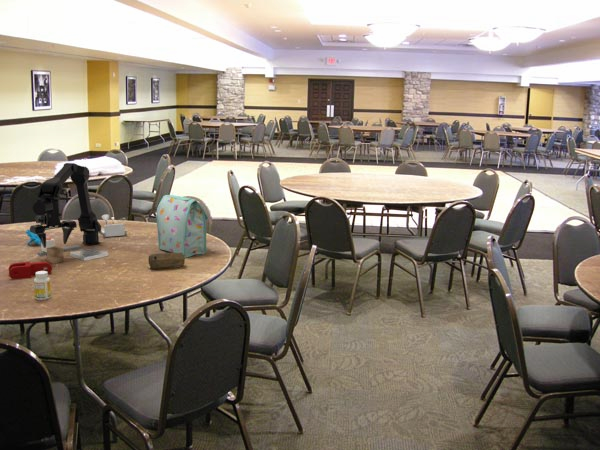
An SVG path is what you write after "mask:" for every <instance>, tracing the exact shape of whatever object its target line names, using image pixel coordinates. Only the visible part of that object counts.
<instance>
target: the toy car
mask: <svg viewBox="0 0 600 450" xmlns="http://www.w3.org/2000/svg"><path fill="white" fill-rule="evenodd" d="M101 218H102V220H103V221H104V222H105V224H104V226H103V229H101V231H100V232H98V234H102V238H103V239H106V238H107V237H117V236H118V237H119V236H120V237H121V236H124V237H128V234H127V231H126V229H125V228H126V225H125V223H111V224H107V223H108V222H107V221H108V220H109V218H110V215H109V214H107V213H106V214H102V216H101ZM111 220H112V221H114V220H115V217H114V216H113V217H112V216H111Z"/></svg>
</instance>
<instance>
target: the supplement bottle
mask: <svg viewBox="0 0 600 450" xmlns="http://www.w3.org/2000/svg"><path fill="white" fill-rule="evenodd" d="M35 274H36V276H35V278H34V279H33V288H34V289H33V290H34V298H35V300H37V301H45V300H49V299H50V298H51V297H52V290H51V278H50V277H48V275H49V274H48V272H47V271H38V272H36V273H35Z"/></svg>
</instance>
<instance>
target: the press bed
mask: <svg viewBox="0 0 600 450" xmlns="http://www.w3.org/2000/svg"><path fill="white" fill-rule="evenodd" d="M69 255H70V257H72V258H74V259H75V258H76V259H78V260H81V261H83V262H84V261H85V262H86V261H91V260H94V259H100V258H105V257H108V256H109V252H107V251H104V250H101V249H97V248H95V247H93V248H87V249H80V250H77V251H70V252H69Z"/></svg>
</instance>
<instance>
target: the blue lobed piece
mask: <svg viewBox="0 0 600 450" xmlns="http://www.w3.org/2000/svg"><path fill="white" fill-rule="evenodd" d="M25 234H26V236H27V237H29V239H30V240H29V241H28V242H27V243H26V245H28V246H29V245H31V244H32V243H35V244H37V245H38V246H41V240H40V239H39V237H38V236H37V235H36V234H34V233H32V232H30V229H27V230H26V232H25Z"/></svg>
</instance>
